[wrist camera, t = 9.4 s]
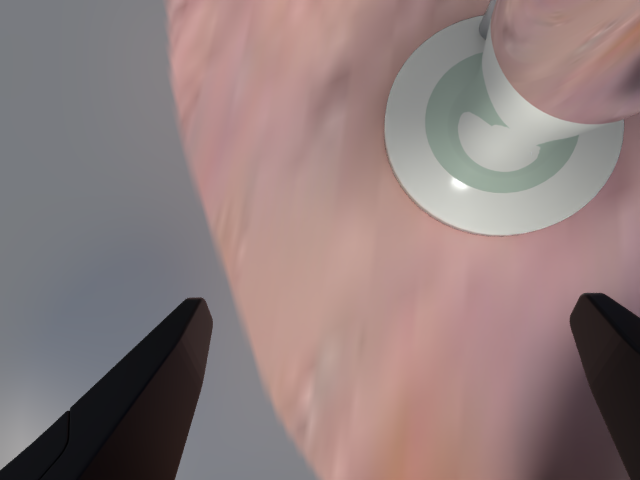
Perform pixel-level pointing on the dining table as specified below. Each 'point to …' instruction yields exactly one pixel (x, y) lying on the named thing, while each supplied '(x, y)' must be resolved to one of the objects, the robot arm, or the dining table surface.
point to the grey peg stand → (459, 180)
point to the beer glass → (546, 81)
